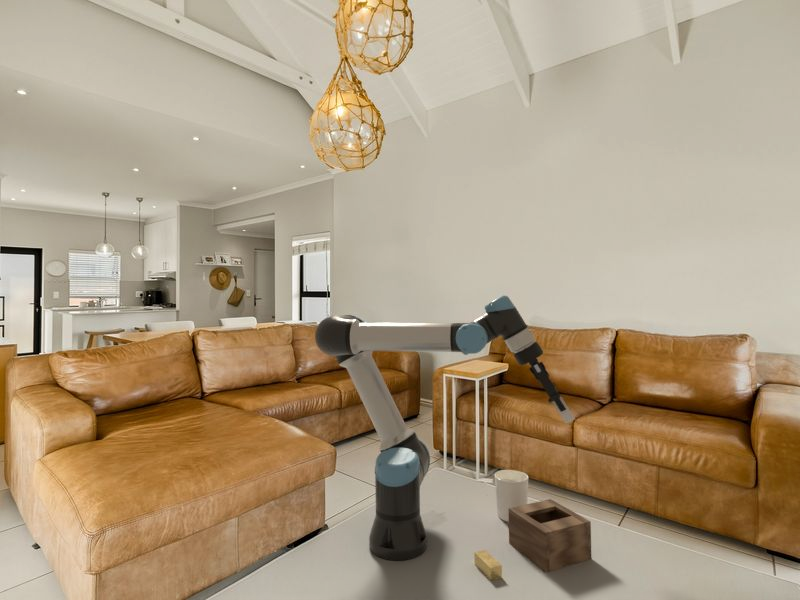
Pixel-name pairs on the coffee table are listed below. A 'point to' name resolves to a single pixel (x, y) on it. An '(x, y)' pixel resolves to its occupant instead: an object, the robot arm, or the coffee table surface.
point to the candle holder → (510, 491)
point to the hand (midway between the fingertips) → (566, 415)
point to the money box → (550, 534)
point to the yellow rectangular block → (488, 564)
